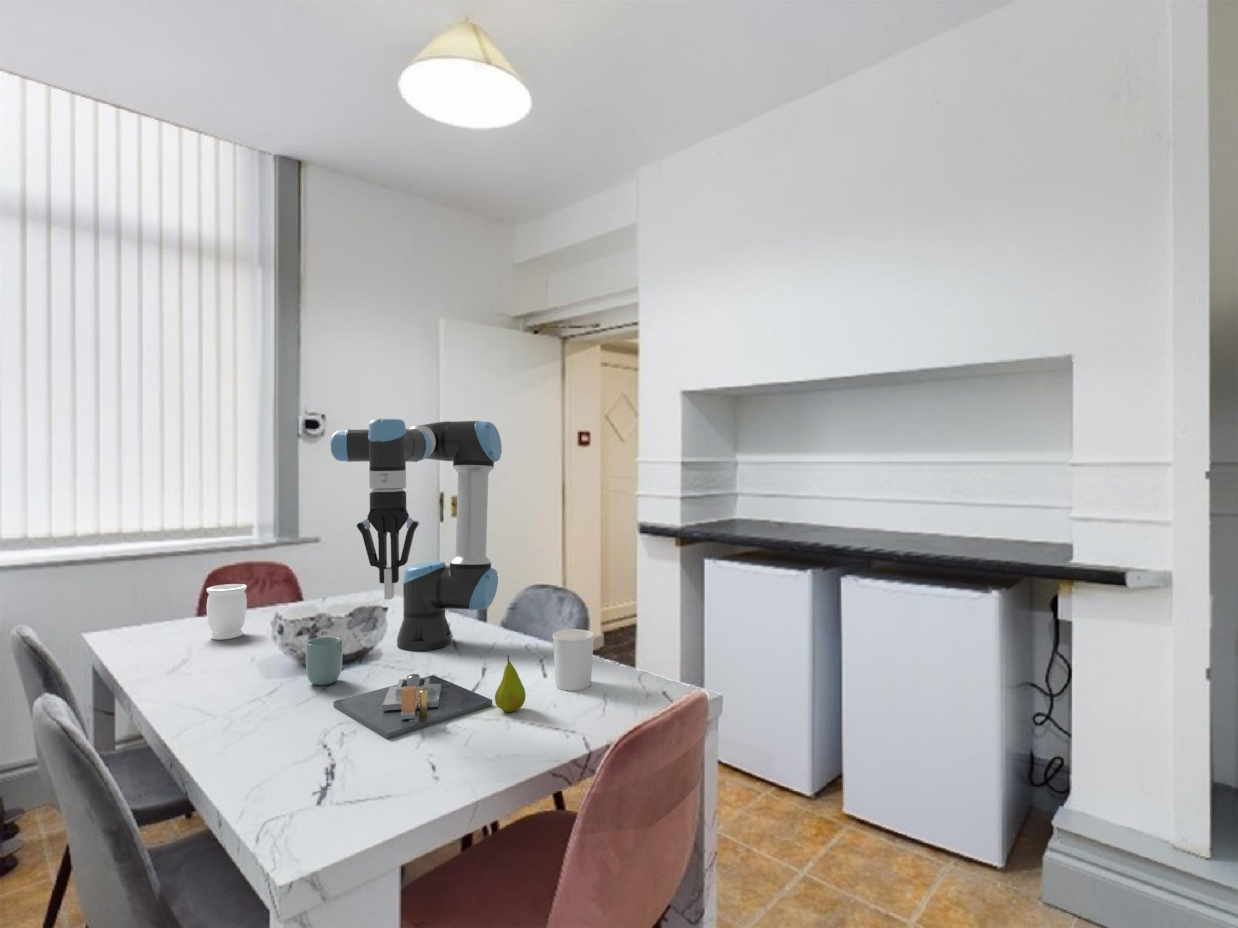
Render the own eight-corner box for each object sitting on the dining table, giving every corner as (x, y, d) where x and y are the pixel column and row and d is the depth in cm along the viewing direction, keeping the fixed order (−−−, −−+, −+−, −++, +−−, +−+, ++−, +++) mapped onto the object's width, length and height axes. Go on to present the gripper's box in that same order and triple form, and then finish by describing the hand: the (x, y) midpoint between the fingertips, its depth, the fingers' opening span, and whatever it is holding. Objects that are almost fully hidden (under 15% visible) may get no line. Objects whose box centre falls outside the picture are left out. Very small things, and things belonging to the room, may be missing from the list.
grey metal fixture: (389, 692, 145) (389, 666, 145) (441, 688, 147) (441, 663, 147) (378, 720, 129) (378, 692, 129) (436, 716, 131) (436, 688, 131)
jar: (233, 641, 191) (233, 590, 191) (198, 641, 191) (198, 590, 191) (254, 631, 202) (254, 583, 202) (220, 631, 202) (220, 583, 202)
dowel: (424, 713, 133) (424, 688, 133) (428, 715, 132) (428, 690, 132) (417, 715, 132) (417, 690, 132) (421, 717, 131) (421, 692, 131)
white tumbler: (543, 685, 154) (543, 634, 154) (574, 675, 161) (574, 626, 161) (572, 695, 147) (572, 642, 147) (602, 684, 155) (602, 634, 155)
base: (433, 679, 158) (433, 652, 158) (492, 705, 141) (492, 675, 141) (333, 706, 140) (333, 676, 140) (387, 739, 124) (387, 705, 124)
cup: (328, 689, 151) (328, 646, 151) (298, 687, 152) (298, 644, 152) (348, 678, 158) (348, 637, 158) (320, 676, 160) (320, 635, 160)
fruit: (524, 704, 142) (525, 649, 142) (525, 715, 136) (526, 657, 136) (495, 705, 141) (495, 650, 141) (494, 716, 135) (494, 658, 135)
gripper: (352, 491, 137) (353, 602, 138) (415, 490, 139) (417, 600, 140) (361, 489, 145) (362, 594, 145) (421, 488, 146) (422, 592, 147)
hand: (389, 597), depth 143 cm, fingers closed
